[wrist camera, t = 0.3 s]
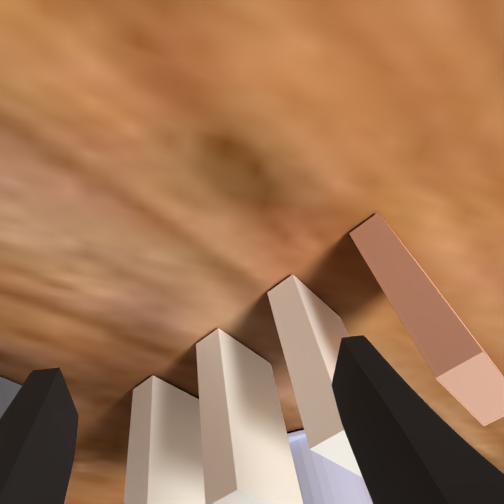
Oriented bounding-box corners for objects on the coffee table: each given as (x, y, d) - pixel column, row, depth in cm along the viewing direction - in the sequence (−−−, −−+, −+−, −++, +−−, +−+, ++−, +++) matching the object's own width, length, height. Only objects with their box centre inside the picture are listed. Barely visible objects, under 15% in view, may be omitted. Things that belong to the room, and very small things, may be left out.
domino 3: (316, 333, 26) (372, 482, 19) (267, 292, 23) (309, 449, 16) (340, 317, 25) (406, 465, 18) (292, 274, 23) (348, 427, 16)
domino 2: (249, 377, 28) (276, 530, 20) (195, 344, 25) (205, 507, 18) (270, 363, 27) (306, 516, 20) (218, 328, 24) (237, 489, 17)
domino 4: (392, 283, 24) (483, 426, 17) (348, 233, 22) (435, 378, 14) (419, 265, 24) (525, 405, 17) (378, 212, 21) (483, 351, 14)
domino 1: (189, 416, 29) (195, 571, 22) (133, 389, 26) (118, 555, 19) (208, 404, 29) (220, 559, 21) (152, 375, 26) (145, 540, 19)
